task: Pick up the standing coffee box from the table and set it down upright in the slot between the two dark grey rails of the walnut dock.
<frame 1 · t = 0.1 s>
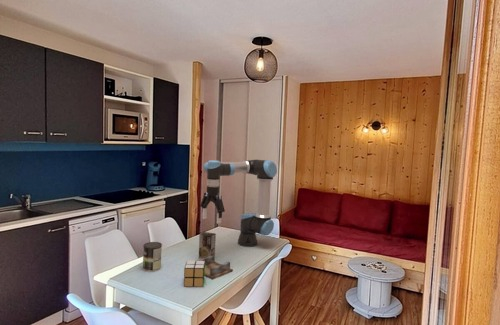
hand: (211, 221, 177), 28 cm above the table, tool pointing down, fingers open, 13 cm apart
puzzle cube: (194, 282, 157), on the table
coffee box: (206, 258, 191), on the table
coffee can: (152, 268, 172), on the table
rail dock: (212, 270, 173), on the table
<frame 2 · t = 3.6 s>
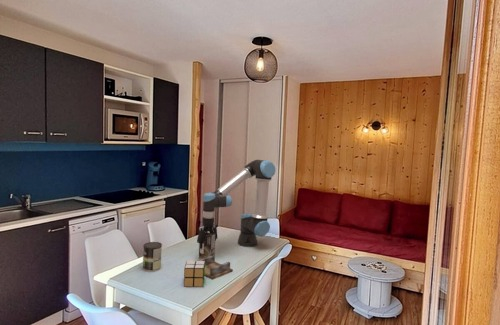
hand: (207, 251, 191), 4 cm above the table, tool pointing down, fingers closed on coffee box, 8 cm apart
coffee box: (206, 258, 191), on the table, touching gripper
everything else where it was.
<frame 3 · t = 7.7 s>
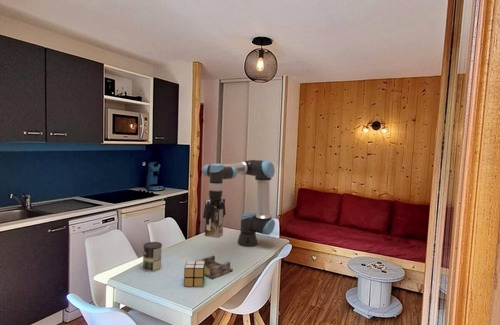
hand: (214, 228, 171), 25 cm above the table, tool pointing down, fingers closed on coffee box, 8 cm apart
coffee box: (213, 236, 172), point 21 cm above the table, touching gripper
everything else where it was.
when the fingers open (7 cm above the table, at t = 11.8 s): coffee box drops 2 cm, resting on rail dock.
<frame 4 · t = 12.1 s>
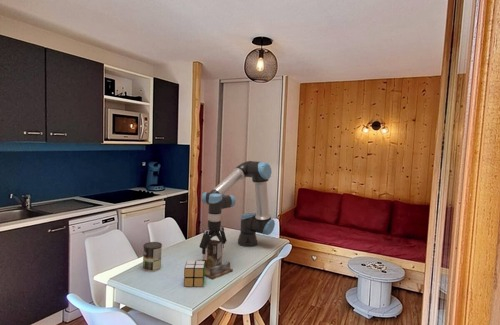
hand: (212, 256, 172), 8 cm above the table, tool pointing down, fingers open, 12 cm apart
coffee box: (212, 268, 173), point 1 cm above the table, touching rail dock
everything else where it was.
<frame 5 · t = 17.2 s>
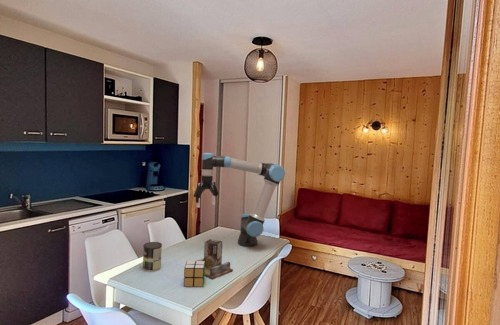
hand: (205, 206, 201), 32 cm above the table, tool pointing down, fingers open, 13 cm apart
nothing on the table moved.
at the end: coffee box 0.1 cm off-centre on the rail dock, point 1.0 cm above the rail dock's base; coffee box tilted 0°; the gripper is holding nothing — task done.
